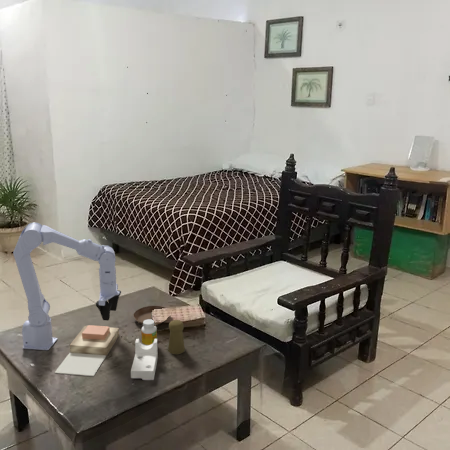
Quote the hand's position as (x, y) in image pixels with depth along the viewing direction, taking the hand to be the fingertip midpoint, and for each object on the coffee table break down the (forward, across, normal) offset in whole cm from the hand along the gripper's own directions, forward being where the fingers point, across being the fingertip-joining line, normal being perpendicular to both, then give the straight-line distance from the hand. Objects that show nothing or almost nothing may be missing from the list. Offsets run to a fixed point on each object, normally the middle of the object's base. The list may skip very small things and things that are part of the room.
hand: (109, 315), depth 179 cm
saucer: (+10, +16, -11) cm, 22 cm away
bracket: (+10, -18, -18) cm, 27 cm away
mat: (+9, -19, +4) cm, 21 cm away
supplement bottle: (+9, -4, -16) cm, 19 cm away
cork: (+9, -5, -26) cm, 28 cm away
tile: (+5, -4, +4) cm, 8 cm away
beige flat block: (+9, -5, +4) cm, 11 cm away
